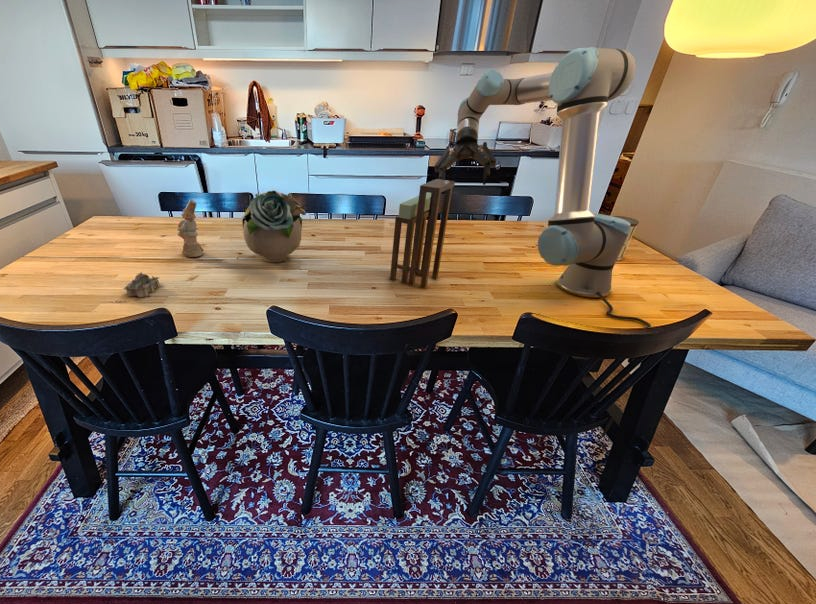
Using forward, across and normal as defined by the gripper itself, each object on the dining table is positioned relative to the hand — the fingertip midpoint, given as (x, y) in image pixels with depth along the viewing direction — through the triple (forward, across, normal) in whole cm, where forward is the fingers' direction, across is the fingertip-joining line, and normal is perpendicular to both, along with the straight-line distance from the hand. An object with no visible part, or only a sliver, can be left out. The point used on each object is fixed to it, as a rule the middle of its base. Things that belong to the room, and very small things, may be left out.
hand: (463, 183), depth 134 cm
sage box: (+15, +13, +6) cm, 21 cm away
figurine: (+28, +99, +4) cm, 103 cm away
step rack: (+32, +14, -8) cm, 36 cm away
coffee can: (0, -55, -44) cm, 70 cm away
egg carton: (+55, +95, +23) cm, 112 cm away
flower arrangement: (+26, +67, -3) cm, 72 cm away
